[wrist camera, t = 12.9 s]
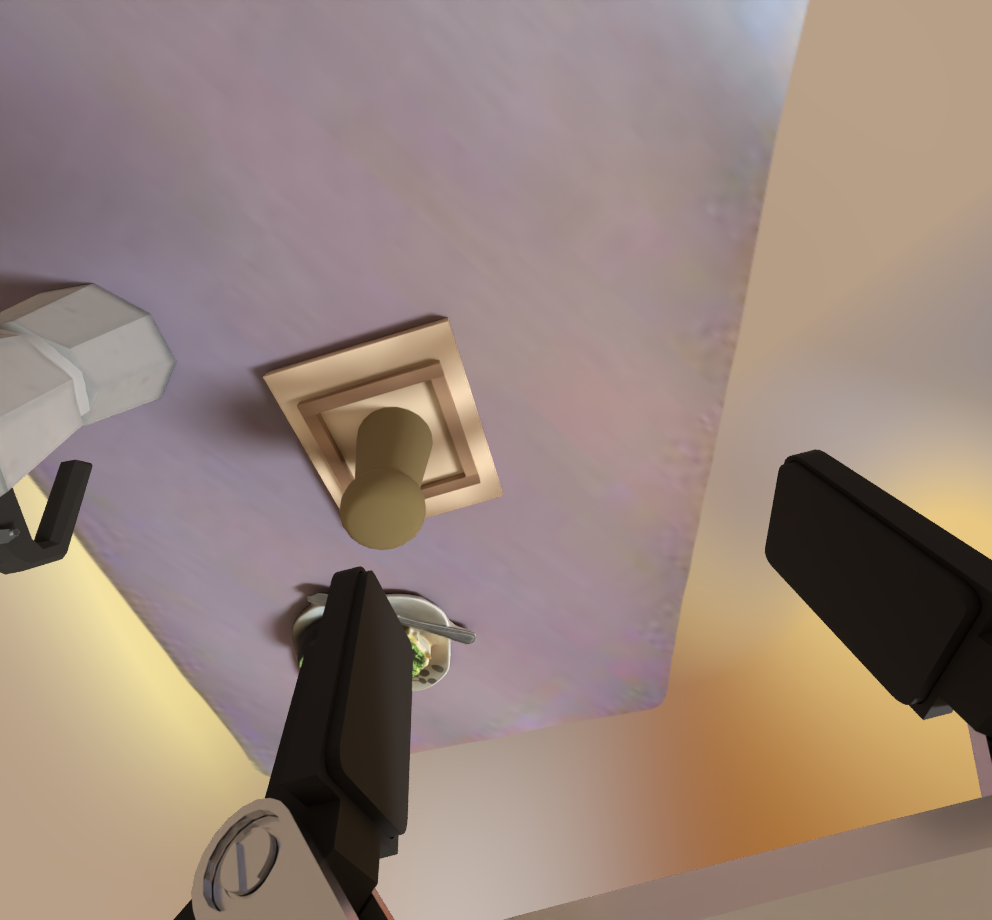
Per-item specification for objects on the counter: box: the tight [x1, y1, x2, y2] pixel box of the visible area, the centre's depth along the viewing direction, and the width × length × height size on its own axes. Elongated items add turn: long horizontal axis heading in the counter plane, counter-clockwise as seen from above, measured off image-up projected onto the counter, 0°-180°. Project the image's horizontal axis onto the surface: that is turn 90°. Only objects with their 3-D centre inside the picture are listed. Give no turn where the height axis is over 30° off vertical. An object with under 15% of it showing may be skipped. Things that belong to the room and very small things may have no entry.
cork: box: [340, 407, 433, 550], centre depth 30 cm, size 6×6×11 cm
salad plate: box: [292, 593, 476, 691], centre depth 47 cm, size 19×18×5 cm
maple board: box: [263, 318, 503, 518], centre depth 35 cm, size 16×14×2 cm
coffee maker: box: [0, 283, 176, 574], centre depth 23 cm, size 15×9×18 cm, turn 8°
